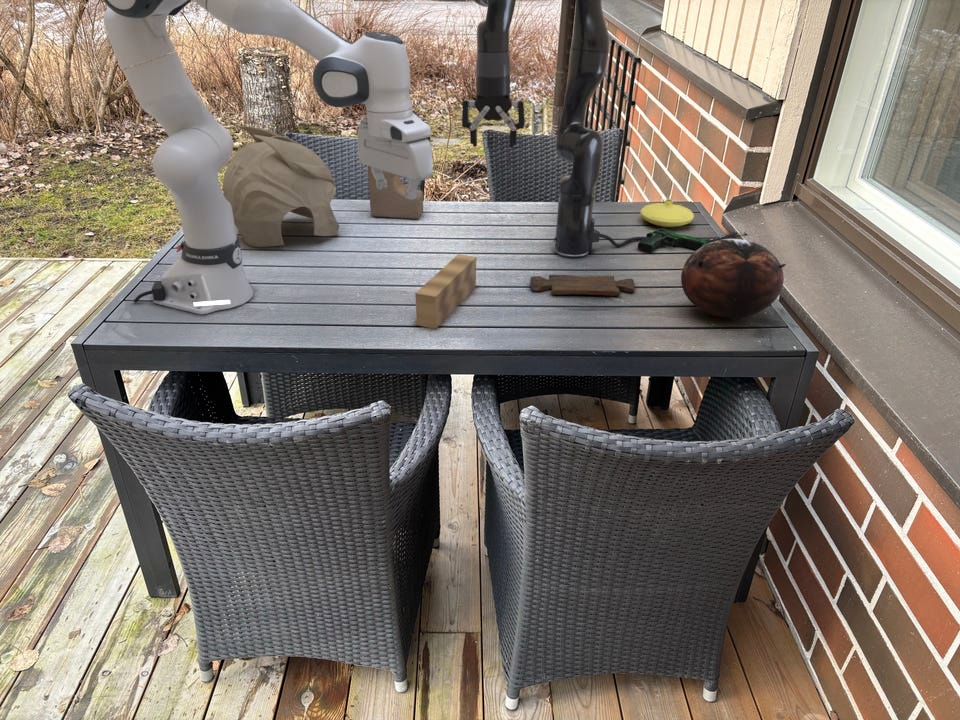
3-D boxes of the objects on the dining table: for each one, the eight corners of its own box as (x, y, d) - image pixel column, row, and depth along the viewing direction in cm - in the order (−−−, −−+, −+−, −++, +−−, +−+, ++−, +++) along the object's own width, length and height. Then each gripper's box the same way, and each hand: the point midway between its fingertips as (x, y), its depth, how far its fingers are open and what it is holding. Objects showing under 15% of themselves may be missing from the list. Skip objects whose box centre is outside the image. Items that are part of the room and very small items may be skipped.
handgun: (632, 238, 197) (658, 223, 207) (630, 248, 199) (657, 232, 209) (685, 255, 189) (710, 237, 198) (684, 265, 190) (708, 247, 200)
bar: (458, 283, 177) (458, 253, 173) (475, 286, 176) (476, 256, 172) (416, 325, 158) (415, 293, 154) (435, 329, 156) (435, 296, 152)
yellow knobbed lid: (637, 212, 224) (640, 190, 220) (689, 215, 222) (693, 193, 219) (640, 230, 211) (643, 207, 207) (695, 233, 209) (699, 210, 205)
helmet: (352, 242, 202) (347, 133, 187) (249, 261, 186) (234, 144, 172) (313, 214, 220) (305, 113, 206) (217, 230, 205) (201, 122, 190)
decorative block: (418, 219, 216) (415, 117, 200) (370, 216, 217) (363, 114, 202) (423, 211, 222) (421, 111, 207) (376, 208, 224) (370, 109, 208)
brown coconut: (756, 268, 174) (792, 226, 156) (764, 335, 169) (803, 301, 150) (665, 264, 174) (691, 222, 155) (670, 332, 168) (697, 297, 149)
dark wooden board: (638, 298, 171) (631, 281, 180) (639, 292, 170) (632, 275, 179) (530, 294, 172) (529, 277, 180) (531, 288, 171) (529, 271, 179)
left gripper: (346, 118, 144) (354, 186, 151) (410, 135, 131) (415, 208, 138) (371, 113, 147) (378, 180, 154) (436, 128, 134) (440, 200, 141)
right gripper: (459, 75, 155) (461, 150, 164) (524, 75, 154) (523, 151, 163) (463, 69, 162) (465, 141, 170) (526, 69, 160) (524, 142, 169)
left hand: (396, 193), depth 146 cm, fingers open, 8 cm apart
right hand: (493, 146), depth 166 cm, fingers open, 8 cm apart
